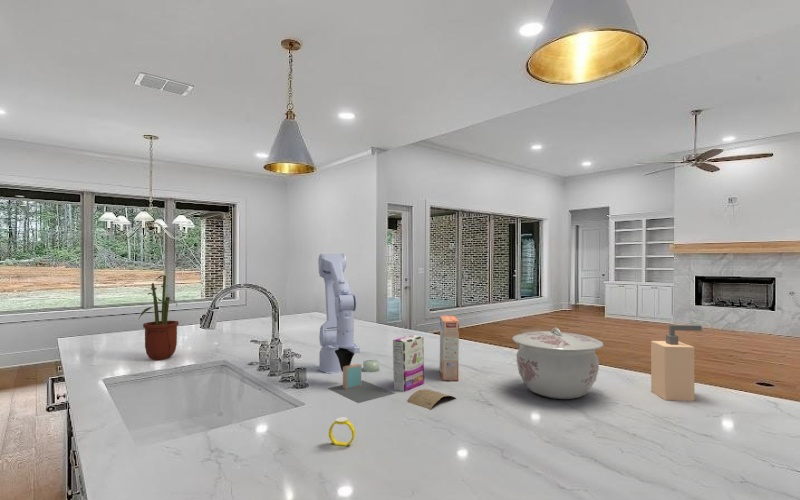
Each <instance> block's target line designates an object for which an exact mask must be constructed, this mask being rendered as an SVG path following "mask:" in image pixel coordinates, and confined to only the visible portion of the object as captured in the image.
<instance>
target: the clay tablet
mask: <svg viewBox="0 0 800 500" xmlns="http://www.w3.org/2000/svg"><path fill="white" fill-rule="evenodd" d="M444 397H448V398H453V399H456V397H455V396H452V395H449V394H444V393H441V392H438V391H434V390H432V389H427V388H425V389H424V388H423V389H418V390H416V391H415V392H414V393H412V394H411V395H410V396H409V397H408V399H407V400H406V403H408V404H411V405H415V406H418V407H421V408H424V409H427V410H430V411H431V410H432V408H433V407H434V406H435V404H436V403H437V402H438V401H440V400H441V398H444Z"/></svg>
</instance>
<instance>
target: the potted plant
mask: <svg viewBox="0 0 800 500" xmlns="http://www.w3.org/2000/svg"><path fill="white" fill-rule="evenodd" d="M160 278H162V284H161V285H160V287H161V288H162V296H161V297H162V298H161V299H160V298H158V297H157V292H156V290H157V289H158V288H157V287H155V283H154V282H152V283H151V287H150V290H151V291H152V292H148V293H147V295H148V296H149V295H151V296H152V297H153V298H152V299H153V306H151V307H147V308H145V309H144V310H142V312H141V314H140V316H139V318H138V320H140V318H141V317H142V316H143V315H144V314H145V313H146V312H148V311H149V310H151V309H153V308H154V309H153V311H154V321H148V322H144V323H143V324H142V325H143V328H144V348H145V353H146V355H147V356H148V358H149V359H151V360H153V361H163V360H168V359H169V358H171V357H173V355H174V354H175V352H176V349H177V344H178V343H177V342H178V340H177V339H178V326H179V324H180V323H179V321H178V320H168V315H169V308H170V307H169V306H170V302H173V303H175V301H173V300H171V297H170V296H166V295H168V294H166V287H167V285H166V283H167V275H166V274H165V275H163V274H162V275H159V276H158V277H157V278H156V279H155V281H157V280H159V279H160ZM159 302H161V310H159V305H158V303H159ZM175 305H176V306H178V304H177V303H175ZM159 313H161V320H160V316H159V315H160V314H159Z"/></svg>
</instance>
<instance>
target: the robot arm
mask: <svg viewBox="0 0 800 500" xmlns="http://www.w3.org/2000/svg"><path fill="white" fill-rule="evenodd" d="M317 265H318V274H319V277H321V278H323V281H324V289H325V290H324V291H325V311H326V321H325V322H324V323H322V324H321V325H320V327H319V337H318V338H319V344H320V346H321V348H320V350H319V357H318V359H319V361H318V362H319V366H318V367H317V370H319V371H320V372H323V373H325V374H328V375H333V374H337V373H343V367H344V366H349V365H352V360H353V358H354V355H355V354H359V353H360V352H361V349H360V348H361V346H358V345H357V344H356V343H355V339H354V338H355V337H354V335H355V330H354V329H355V327H354V326H355V325H354V324H355V323H354V322H355V320H354V317H355V316H354V315H355V313H354V312H355V311H356V309H357V299H356V295H355V294H354V293H353V292H352V291H351V288H350V285H349V281H348V280H347V279H345V276H344V273H345V269H346V268H347V257H346V255H345V253H320V254H319V255H318V263H317Z"/></svg>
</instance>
